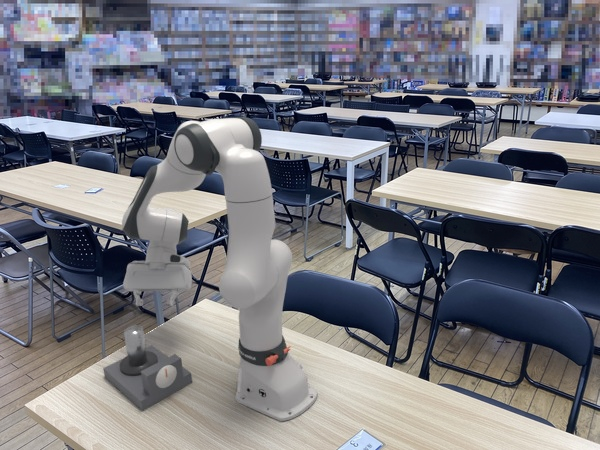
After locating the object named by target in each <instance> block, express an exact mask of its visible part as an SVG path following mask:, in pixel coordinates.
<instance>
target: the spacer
mask: <svg viewBox="0 0 600 450" xmlns="http://www.w3.org/2000/svg"><path fill="white" fill-rule="evenodd" d="M123 336H124V342H125V347H126V354H127V355H126V356H128V362H129V365H130V366H132V367H139V366H142V365H144V364H145V363H146V362H147V361H148V358H147V351H146V347H147V345H146V339H145V337H146V336H145V331H144V327H143V326H142V325H137V324H135V325H131V326H130V325H129V326H128V327H126V328H125V329H124V330H123Z"/></svg>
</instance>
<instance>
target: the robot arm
mask: <svg viewBox="0 0 600 450" xmlns="http://www.w3.org/2000/svg"><path fill="white" fill-rule="evenodd" d="M262 142H263V141H262V133H261V129H260V127H259V126H258V124H257V123H256V121H254V120H253V119H252V118H249V117H246V116H234V117H230V118H229V117H227V118H226V117H225V118H212V119H207V120H202V121H199V120H188V121H184V122H182V123H181V124H180V125H179V126H178V127H177V129H176V131H175V133H174V135H173V137H172V138H171V142H170V144H169V148H168V151H167V155H166V157H165V159H163V160H162V161H161V162H159V163H158V164H155V165H152V166H151V167H150V168H149V169H148V170H147V172H146V174H145V176H144V178H143V179H142V180H141V183H140V185H139V187H138V188H137V191H136V193H135V195H134V196H133V199H132V201H131V203H130V204H129V205H128V207H127V209H126V210H125V211H124V214H123V216H122V220H121V227H122V229H121V230H122V231H123V232H124V234H125V236H127V237H128V238H129V239H132V240H135V239H136V240H147V241H149V243H148V246H147V248H146V254H145V255H146V256H145V260H133V261H132V262H129V263H128V264H127V266H126V273H125V275H124V279H123V283H122V287H123V288H124V290H126V291H128V292H133V295H134V298H135V300H136V301H135V306H137V307H142V306H143V305H144V300H143V299H142V298H141V297H140V296H141V295H142V292H171V296H170V298H166V306H168V307H173V306H174V303H175V300H176V299H177V298H178V296H179V292H189V291H190V290H191V289H192V285H193V284H192V282H193V281H192V280H193V279H192V278H193V276H192V275H193V274H192V271H191V269H190V268H191V265H192V263H191V261H190V260H188V258H186V257H185V256H183V255H179V254H178V252H177V251H178V250H177V245H180V244H181V243H183V242H184V241H186V240H187V239H188V231H189V229H188V227H189V223H190V221H189V219H188V217H187V216H186V215H185V214H184V213H182V212H179V211H177V210H175V209H174V208H170V207H169V208H168V207H162V208H159V207H154V206H153V207H151V206H149V205H150V204H151V202H152V200H153V198H154V197H155V196H157V195H159V194H164V193H165V194H166V193H177V192H178V193H181V192H188V191H192V190H195V189H196V188H198V187H199V186H200V185H201V184H202V183H203V182H204V180H205V178H206V177H207V176H211V175H212V174H213V173H214V172H215V171H216V172H217V173H218V174H219V175H220V176H221V178H222V182H223V189H224V198H225V206H226V213H227V222H228V223H227V224H228V243H227V244H228V245H227V252H226V260H225V266H224V269H223V273H222V275H221V277H220V279H219V283H218V289H219V293H220V296H221V297H222V299H223V300H224V302H226V304H227V305H229V306H231V307H232V308H235V309H238V310H239V311H238V326H239V330H238V331H239V338H238V347H237V348H238V353H239V356H240V358H239V359H240V360H239V365H238V373H237V374H238V376H237V383H236V394H235V398H234V399H235V402H237V403H239V404H241V405H243V406H246V407H247V408H250V409H252V410H255V411H257V412H259V413H260V414H263V415H266V416H268V417H270V418H272V419H275V420H277V421H279V422H284V421H285V422H286V421H289V420H293V419H294V418H297V417H298V416H300V415H301V414H303V413H304V412H306V411H307V410H308V409H309V408H310V407H312V405H313V404H314V403H315V402H316V400H317V399H318V391H317V389H316V388H315V387H314V386H312V385H311V384H310V383H309V381H308V377H307V374H306V372H305V371H304V370H303V365H302V362H300V361H298V362H297V361H296V360H295V359H294V357H293V356H292V355H291V353H290V351H291V345H289V346H287V343H286V340H285V337H284V335H283V309H284V308H283V307H284V302H285V301H284V300H285V297H286V295H285V294H286V292H287V291H286V290H287V284H288V279H289V278H288V277H289V274H290V270H291V266H292V264H293V253H292V251H291V249H290V247H289V246H288V245H287V244H286V243H285V242H283V241H281V240H279V239H275V238H274V239H272V238H273V235H274V232H275V229H276V219H275V218H276V216H275V208H274V198H273V189H272V183H271V178H270V172H269V168H268V165H267V162H266V160H265V157H264V155H263V154H262V153H261V152H259V151H260V150H261V148H262Z"/></svg>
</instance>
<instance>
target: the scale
mask: <svg viewBox="0 0 600 450" xmlns="http://www.w3.org/2000/svg"><path fill="white" fill-rule="evenodd" d="M146 351H147V358H148V361H147V362H146V363H145V364H144V365H142V366H139V367H132V366H130V365H129V362H128V355H126V356H125V357H123V358H122V359H121V358H120V359H119V360H117V361H115V362H112V363H111V364H109V365H107V366H105V367H103V369H102V370H103V374H104V378H105V379H106V380H107V381H108V382H109V383H111V384H112V385H113V386H114V388H116V389H117V390H118V391H120V393H122V394H123V396H125V397H126V398H127V399H129V400H130V401H131V402H132V403H133V404H134V405H135V406H136V407H137V408H139V409H140V410H141V412H144V411H145V410H147V409H149V408H150V407H152V406H154V405H155V404H157V403H159V402H161V401H162V400H164V399H166V398H168V397H169V396H171V395H173V394H174V393H176V392H178V391H179V390H181V389H183V388H185V387H186V386H188V385H190V384H191V383H193V376H192V372H191V371H189V370H188V369H187V368H185V367H184V366H183V362H182V357H180V356H179V355H177V354H176V353H174V354H172V355H170V356H168V355H167V354H166V353H164V352H163V351H161V350H160V349H158V348H157V347H155V346H154V345H153V344H151V345H148V346H146Z"/></svg>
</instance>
